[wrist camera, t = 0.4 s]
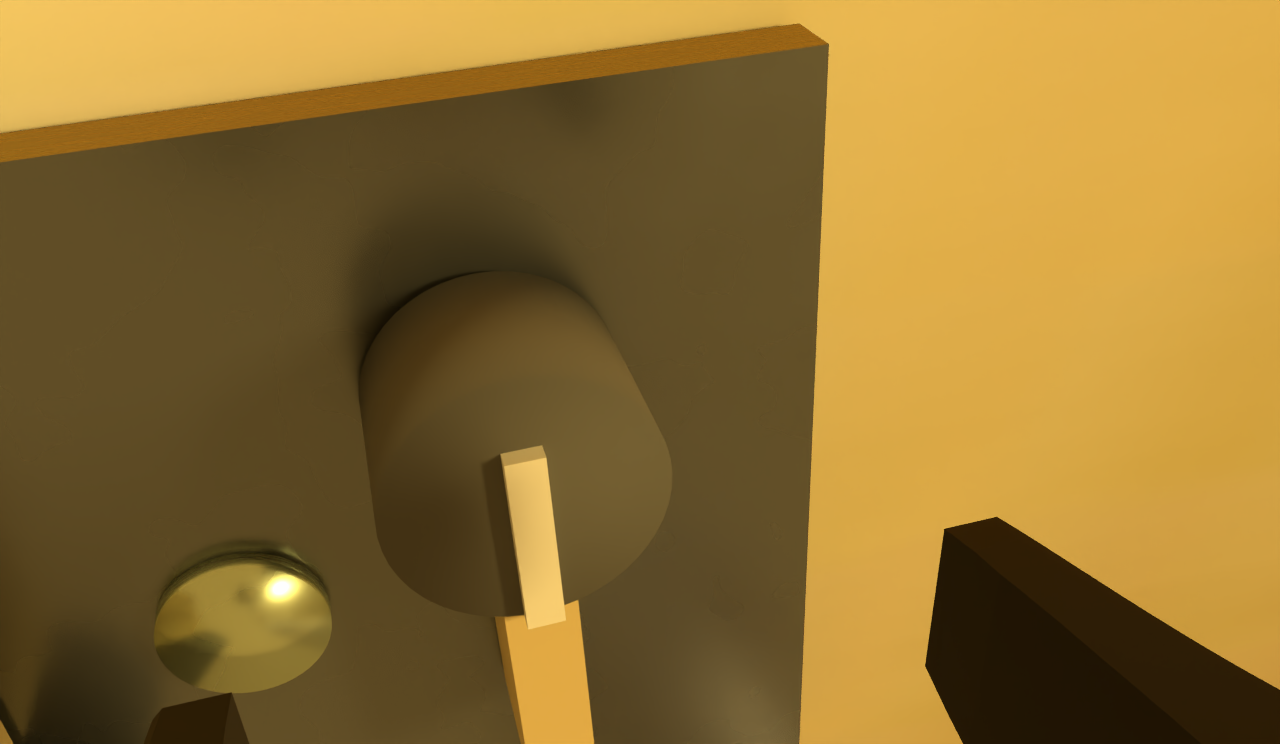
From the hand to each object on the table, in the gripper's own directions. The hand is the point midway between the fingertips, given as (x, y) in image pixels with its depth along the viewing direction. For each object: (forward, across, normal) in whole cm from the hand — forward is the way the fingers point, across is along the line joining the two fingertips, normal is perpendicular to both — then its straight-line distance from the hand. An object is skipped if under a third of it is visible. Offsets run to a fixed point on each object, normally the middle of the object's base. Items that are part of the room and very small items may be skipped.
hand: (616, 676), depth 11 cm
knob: (+8, 0, +4) cm, 9 cm away
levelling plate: (+10, +5, +6) cm, 12 cm away
